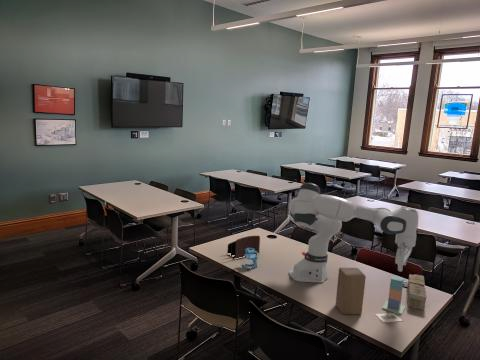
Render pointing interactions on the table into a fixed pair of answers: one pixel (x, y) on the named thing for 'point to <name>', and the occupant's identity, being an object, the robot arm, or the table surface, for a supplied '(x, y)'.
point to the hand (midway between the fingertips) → (401, 267)
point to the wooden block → (350, 290)
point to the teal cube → (396, 283)
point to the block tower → (416, 292)
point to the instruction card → (388, 317)
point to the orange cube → (395, 294)
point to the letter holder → (244, 246)
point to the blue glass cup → (251, 257)
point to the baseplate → (394, 306)
